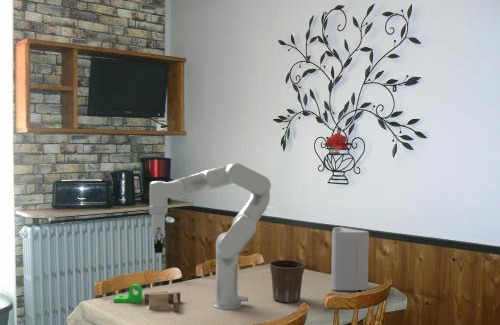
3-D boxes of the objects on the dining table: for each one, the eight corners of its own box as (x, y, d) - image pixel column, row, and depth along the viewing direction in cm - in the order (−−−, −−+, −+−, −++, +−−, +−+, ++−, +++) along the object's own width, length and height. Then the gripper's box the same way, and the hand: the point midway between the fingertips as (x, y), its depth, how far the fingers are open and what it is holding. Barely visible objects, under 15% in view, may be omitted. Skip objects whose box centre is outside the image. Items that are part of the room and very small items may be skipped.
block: (149, 305, 232) (149, 291, 232) (168, 304, 234) (168, 290, 234) (148, 308, 228) (149, 294, 227) (168, 308, 229) (168, 293, 229)
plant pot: (308, 303, 239) (309, 267, 238) (272, 304, 236) (273, 267, 236) (299, 293, 255) (300, 259, 254) (265, 294, 252) (266, 260, 252)
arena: (180, 301, 240) (180, 292, 240) (182, 312, 224) (182, 302, 224) (144, 302, 237) (144, 293, 237) (143, 313, 222) (143, 303, 222)
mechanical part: (143, 299, 243) (143, 281, 243) (141, 303, 237) (141, 285, 237) (116, 299, 243) (116, 281, 242) (113, 303, 237) (113, 285, 236)
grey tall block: (318, 285, 270) (319, 229, 269) (338, 281, 280) (339, 226, 279) (348, 294, 255) (349, 234, 255) (368, 289, 265) (369, 231, 264)
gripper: (149, 208, 239) (148, 247, 239) (149, 212, 222) (149, 254, 222) (166, 207, 240) (166, 246, 241) (168, 212, 223) (168, 254, 224)
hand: (158, 250), depth 231 cm, fingers open, 9 cm apart
